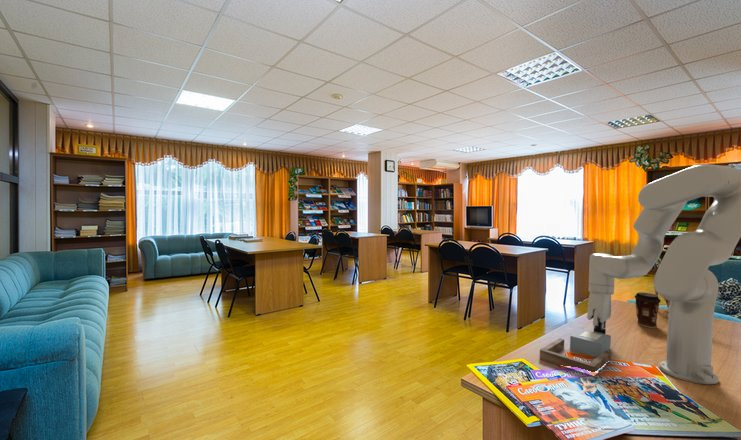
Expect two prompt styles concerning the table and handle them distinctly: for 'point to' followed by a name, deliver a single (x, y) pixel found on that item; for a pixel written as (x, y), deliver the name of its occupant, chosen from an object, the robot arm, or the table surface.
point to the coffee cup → (647, 309)
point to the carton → (590, 342)
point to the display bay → (553, 357)
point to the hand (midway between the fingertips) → (599, 339)
